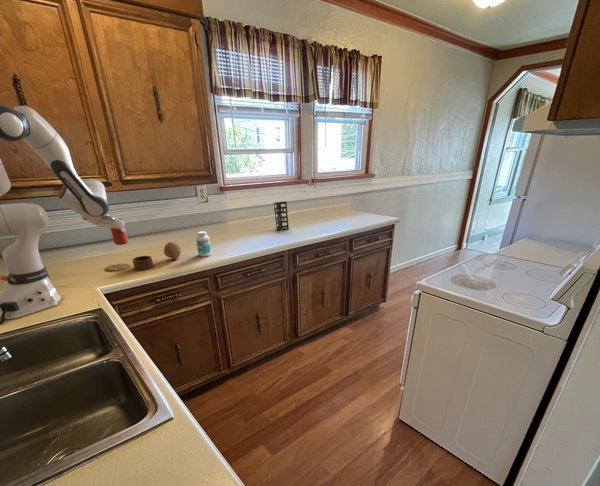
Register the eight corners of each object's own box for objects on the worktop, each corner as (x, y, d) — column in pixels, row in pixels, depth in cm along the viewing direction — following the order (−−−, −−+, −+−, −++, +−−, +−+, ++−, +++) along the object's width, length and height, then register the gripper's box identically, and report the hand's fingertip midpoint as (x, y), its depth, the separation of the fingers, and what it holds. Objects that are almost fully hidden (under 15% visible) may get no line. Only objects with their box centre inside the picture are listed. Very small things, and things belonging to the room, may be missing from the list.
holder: (279, 230, 247) (277, 202, 239) (273, 229, 252) (270, 202, 244) (290, 228, 253) (288, 201, 245) (284, 227, 259) (282, 201, 251)
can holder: (143, 271, 169) (141, 262, 167) (130, 269, 173) (128, 259, 170) (157, 265, 177) (155, 256, 174) (144, 263, 180) (142, 255, 178)
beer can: (123, 245, 165) (116, 221, 160) (112, 245, 166) (105, 220, 161) (131, 242, 171) (125, 218, 165) (120, 241, 172) (114, 218, 166)
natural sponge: (170, 263, 181) (166, 245, 176) (162, 259, 186) (159, 242, 182) (185, 259, 187) (182, 242, 182) (177, 256, 192) (174, 239, 187)
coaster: (116, 272, 168) (115, 271, 168) (101, 269, 172) (101, 268, 172) (133, 266, 177) (133, 265, 177) (119, 263, 181) (118, 262, 181)
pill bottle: (196, 255, 194) (192, 232, 187) (207, 252, 198) (204, 230, 192) (202, 257, 189) (199, 234, 183) (214, 254, 194) (210, 232, 187)
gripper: (111, 209, 150) (135, 227, 162) (85, 206, 159) (110, 223, 171) (105, 221, 149) (129, 238, 161) (79, 217, 158) (104, 233, 170)
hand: (119, 230), depth 166 cm, fingers closed on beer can, 6 cm apart
